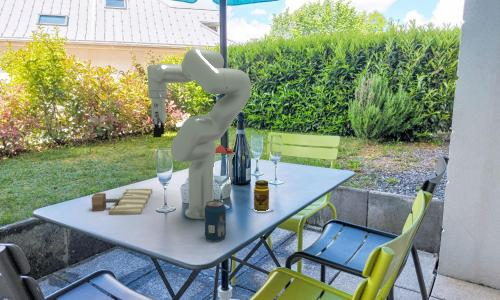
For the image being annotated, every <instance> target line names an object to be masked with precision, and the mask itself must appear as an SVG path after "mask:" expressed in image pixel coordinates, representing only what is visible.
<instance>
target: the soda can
mask: <svg viewBox="0 0 500 300" xmlns="http://www.w3.org/2000/svg"><path fill="white" fill-rule="evenodd" d="M226 209H227V208H226V206H225V203H224V201H221V200H214V201H209V202H207V203H206V207H205V219H204V236H205V238H206V240H207V241H209V240H210V242H220V241H223V240H224V238H225V237H226V235H227V231H226V230H227V229H226V228H227V226H226V225H227V223H226V221H227V219H226V217H227V216H226V215H227V214H226V213H227V212H226V211H227V210H226Z"/></svg>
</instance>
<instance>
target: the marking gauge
mask: <svg viewBox="0 0 500 300" xmlns="http://www.w3.org/2000/svg"><path fill="white" fill-rule="evenodd" d="M119 202H120V199H119V198H107V194H106V192H98V193H97V192H96V193H93V195H92V196H91V206H92V207H91V208H92V212H104V211H105V210H106V209H107V203H108V204H112V203H114V204H115V203H116V204H117V205H118V203H119Z"/></svg>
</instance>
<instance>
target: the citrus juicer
mask: <svg viewBox="0 0 500 300" xmlns="http://www.w3.org/2000/svg"><path fill="white" fill-rule="evenodd" d="M226 149H227V151H226V150H225V147H224V146H223V145H222V144H219V145H218V146H216V152H215V153H227V152H228V153H227V154H229V177H230V180H231V182H232V183H233V181H232V168H233V165H232V159H233V157H234V155H235V156H236V152H233V151H232V150H234V149H232V148H226Z"/></svg>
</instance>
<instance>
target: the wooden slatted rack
mask: <svg viewBox="0 0 500 300" xmlns="http://www.w3.org/2000/svg"><path fill="white" fill-rule="evenodd" d="M152 193H153V188H131V189H130V188H126V189H125V190H124V191H123V192H122V194H121V195H120V196H119V198H118V199H120V202H119V203H118V205H117V204H116V203H114V204H113V205H112V206H111V208H110V209H109V210H108V215H109V216H115V215H116V216H118V215H120V216H121V215H142V212H143V211H144V209H145V207H146V205H147V203H148V201H149V199H150V197H151V196H152Z"/></svg>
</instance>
